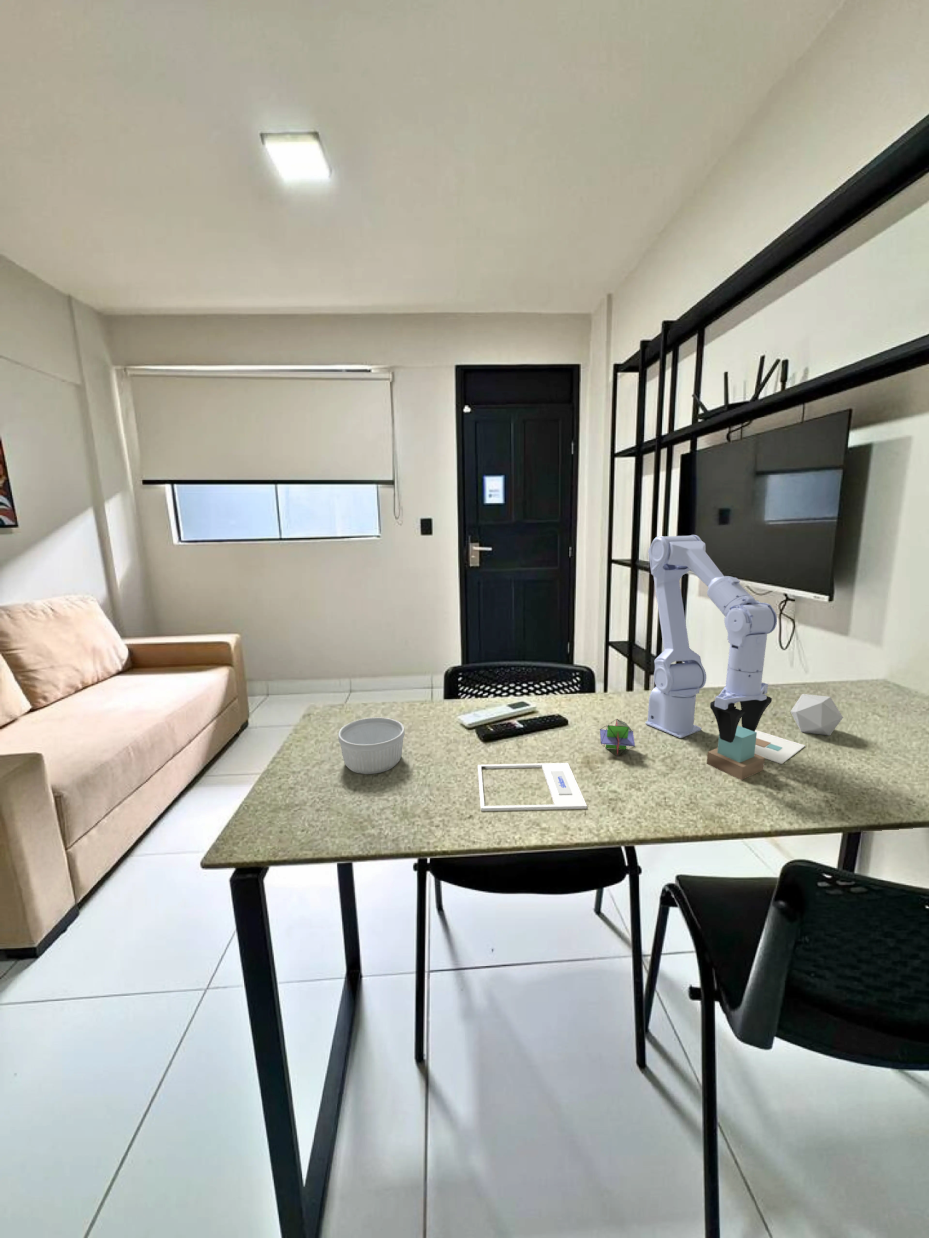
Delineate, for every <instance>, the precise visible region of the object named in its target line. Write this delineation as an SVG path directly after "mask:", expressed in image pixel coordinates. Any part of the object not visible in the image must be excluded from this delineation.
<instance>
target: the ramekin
mask: <svg viewBox="0 0 929 1238" xmlns="http://www.w3.org/2000/svg"><path fill="white" fill-rule="evenodd" d="M337 735H338V739H337V740H338V743H339V745H340V751H341V755H342V760H343V762H344V765H345V767H347V768H348V769H349V770H350V771H352V772H353V773H356V774H362V775H372V774H373V775H374V774H375V775H376V774H380V773H384V772H386V771H388V770H391V769H392V768H394V767H395V766H396V765H397V764H398V763H399V762H400V760H401V757H402V754H403V753H402V752H403V744H404V739H405V727H404V724H402V722H400V721H399V720H396V719H393V718H389V717H380V716H379V717H377V716H376V717H375V716H373V717H364V718H361V719H357V720H353V721H351V722H349V723H347V724H345V725H343V726H342V727H341V728H340V729H339V730H338V734H337Z"/></svg>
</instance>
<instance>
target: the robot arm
mask: <svg viewBox="0 0 929 1238" xmlns="http://www.w3.org/2000/svg"><path fill="white" fill-rule="evenodd" d="M647 552H648V560H649V567H650V573H651V575H652V576H653V581H654V588H655V595H656V602H657V610H658V617H659V624H660V630H661V638H662V645H663V651H662V652H661V653H660V654H659V655H657V657H656V658H655V659H654V662H653V663H654V672H653V681H654V683H655V684H654V685H655V686H654V687H653V689H652V690H651V691H650V694H649V698H648V711H647V720H646V721H645V724H646V725H647V726H650V727H653V728H655V729H656V730H659V731H662V732H665V733H666V734H669V735H672V736H674V737H676V738H679V739H682V738H685V737H688V736H690V735H693V734H694V733H697V732H699V731H702V727H700V726H698V725H697V724H694V723H695V711H696V699H697V694H700V690H701V689H703V688H704V687H705V685H706V683H707V671H706V669H705V668H704V665H703V664H702V663H703V662H702V659H701V656H700V655H699V654H698V653H697V652H695V651H694V650H693V649H692V648H690V643H689V636H688V629H687V622H686V616H685V610H684V609H685V608H684V603H683V597H682V589H681V583H680V581H681V580H680V579H682V577H683V575H685V574H688V573H689V571H691V572H692V573H693V574H694V575H695V576H696V577H697V578H698V579H699V580H700V581H701V582H702V583H703V584H705V586H706V587H707V588H708V589H707V592H706V593H707V597H708V598H709V599H710V600H711V602H712V603H713V604H714V605H715V606H716V608H717V609H718V610H719V611H720V612H721V613H722V615H723V616H724V620H723V621H724V626H725V629H726V631H727V641H728V643H729V648H728V649H729V652H728V659H727V660H728V661H727V667H726V669H727V670H726V680H725V686H724V687H723V689H722V690H721V691H720V693H719V694H718V695H716V696H715V698H714V700H713V701H711V702H710V705H709V706H710V707H709V708H710V710H711V712H712V713H713V715H714V717H715V719H716V723H717V728H718V736H719V735H720V739H722V740H724V741H727V742H729V743H731V742H733V740H734V738H735V734H736V730H737V726H739V723H740V721H741V727H743V728H746V729H749V730H751V731H754V732H755V730H757V728H758V725H759V723H760V721H761V718H762V716H763V714H764V712H765V711H766V709H767V708H768V707H769V706H770V705H771V704H772V702H773V701H772V700H773V698H772V697H771V696H767V693H768V689H769V688H768V687H769V683H765V682H762V681H763V675H764V674H763V671H764V667H765V666H764V665H765V657H766V647H767V640H768V635H769V634H770V633H772V632H773V631H775V629H776V626H777V623H778V616H777V614H776V611H775V609H774V608H773V606H772V605H771V604H770V603H767V602H761V601H760V600H758V599H755V597H753V595H751V594H750V593H749V592H748V591H747V590H746V589H745V587H743V585H741V584H740V582H741V581H740V580H739V579H738V577H733V576H729V575H724V574H723V572H722V571H721V570H720V569H719V567H718V566H717V565H716V564H715V562H714V561H713V560H712V558H711V557H710V556H709V555H708V553H707V552H706V543H705V542H704V541H702V538H700V536H699V535H696V534H691V535H671V536H670V535H669V536H666V535H665V536H663V535H658V536H656V537H655V538H654V539H653V540H652V542H651V544H650V546H649V548H648V550H647ZM674 662H679V663H674ZM737 703H740V709H739V708H737V706H735V704H737Z"/></svg>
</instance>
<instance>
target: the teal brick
mask: <svg viewBox="0 0 929 1238" xmlns="http://www.w3.org/2000/svg"><path fill="white" fill-rule="evenodd" d="M756 735H757V732H754V731H751V730H749V729H746V728H743V727H742V725H741V726H740V725H738V726H737V730H736V734H735V738H734V740H733V742H731V743H729V742H727V741H724V740H722V739H720V735H719V734H718V741H717V742H718V743H717V748H718V752H717V753H719V754H721V755H723V756H726V757H728V758H730V759H732V760H735V761H737V762H739V763H740V762H743V761H745V760H748V759H750V758H752V757H754V753H755V744H756Z"/></svg>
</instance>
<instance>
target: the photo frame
mask: <svg viewBox="0 0 929 1238" xmlns="http://www.w3.org/2000/svg"><path fill="white" fill-rule="evenodd" d="M482 768H485V769H487V770H488V769H524V768H525V769H526V768H527V769H529V768H531V769H532V768H541V769H542V772H543V776H544V778H545V781H546V784H547V788H548V791H549V793H550V796H551V799H552V802H553V804H552V803H551V804H516V805H515V804H512V805H509V804H508V805H485V796H484V786H483V785H484V783H483V773H482ZM477 778H478V788H479V789H478V791H479V806H480V811H481V812H493V811H494V812H495V811H497V812H499V811H502V812H503V811H536V810H537V811H538V810H540V811H542V810H576V809H577V810H581V809H582V810H583V809H585V810H587V809H588V804H587V803H586V801H585V799H584V798H585V797H584V796H583V793H582V792H581V788H580V787H579V785H578V782H577V780H576V778H575V775H574V773H573V771H572V769H571V766H570V765H569V762H542V763H541V762H540V763H539V762H537V763H501V764H500V763H497V764H495V763H493V764H490V763H489V764H477Z"/></svg>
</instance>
